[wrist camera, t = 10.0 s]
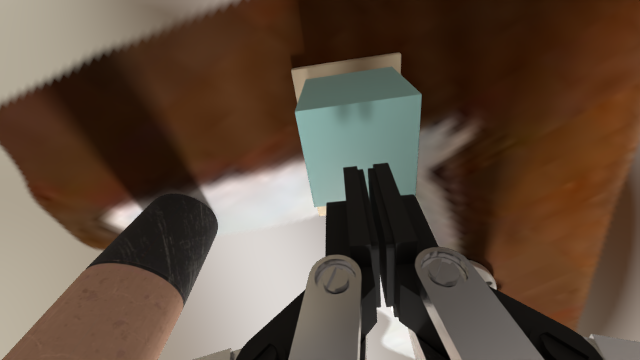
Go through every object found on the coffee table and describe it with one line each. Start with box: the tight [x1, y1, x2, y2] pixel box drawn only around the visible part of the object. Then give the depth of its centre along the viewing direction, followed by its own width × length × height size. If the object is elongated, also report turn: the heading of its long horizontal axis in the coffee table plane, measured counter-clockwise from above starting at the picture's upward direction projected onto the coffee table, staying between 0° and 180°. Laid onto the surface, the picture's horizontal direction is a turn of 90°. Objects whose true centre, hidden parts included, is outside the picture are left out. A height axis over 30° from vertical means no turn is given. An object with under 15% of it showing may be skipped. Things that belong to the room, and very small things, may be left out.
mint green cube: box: [295, 66, 422, 207], centre depth 16 cm, size 6×6×6 cm
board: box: [291, 52, 401, 216], centre depth 22 cm, size 8×14×1 cm, turn 8°
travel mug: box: [2, 194, 218, 360], centre depth 19 cm, size 8×8×20 cm
